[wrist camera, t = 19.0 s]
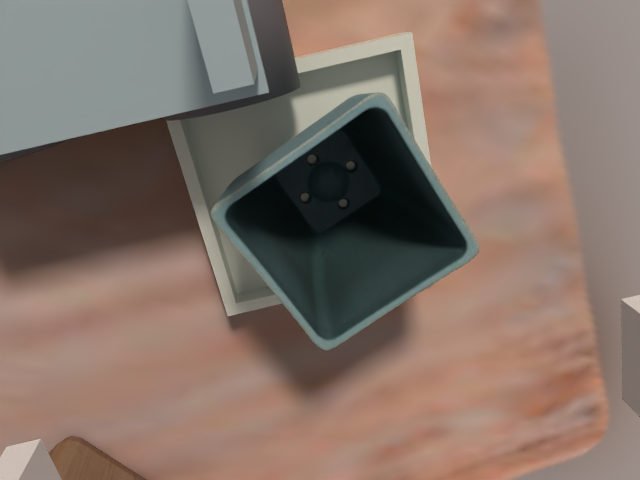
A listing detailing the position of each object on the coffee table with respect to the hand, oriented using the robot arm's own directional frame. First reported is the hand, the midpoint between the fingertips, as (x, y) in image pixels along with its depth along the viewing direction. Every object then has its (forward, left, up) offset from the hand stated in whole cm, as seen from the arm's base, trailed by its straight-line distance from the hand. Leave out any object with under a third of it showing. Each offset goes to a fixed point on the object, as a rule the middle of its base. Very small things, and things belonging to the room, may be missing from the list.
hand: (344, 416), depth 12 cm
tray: (+1, 0, -22) cm, 22 cm away
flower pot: (+2, 0, -21) cm, 21 cm away
